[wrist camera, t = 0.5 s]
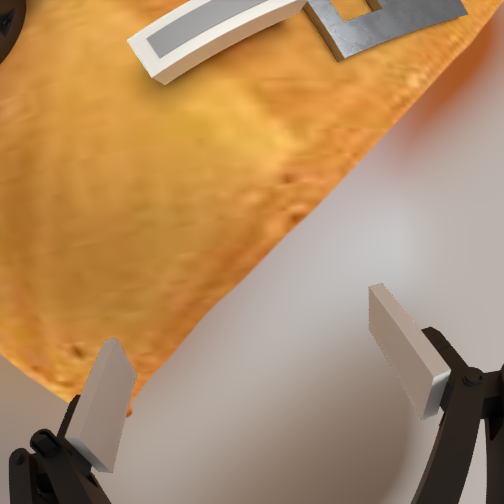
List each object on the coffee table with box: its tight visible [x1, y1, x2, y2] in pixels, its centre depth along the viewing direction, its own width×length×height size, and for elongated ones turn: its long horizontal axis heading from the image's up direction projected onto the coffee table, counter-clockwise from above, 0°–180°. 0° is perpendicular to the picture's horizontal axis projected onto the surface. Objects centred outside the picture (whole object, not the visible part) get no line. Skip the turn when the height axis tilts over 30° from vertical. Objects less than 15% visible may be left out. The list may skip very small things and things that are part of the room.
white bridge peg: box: [127, 0, 307, 85], centre depth 26 cm, size 5×16×10 cm, turn 121°
